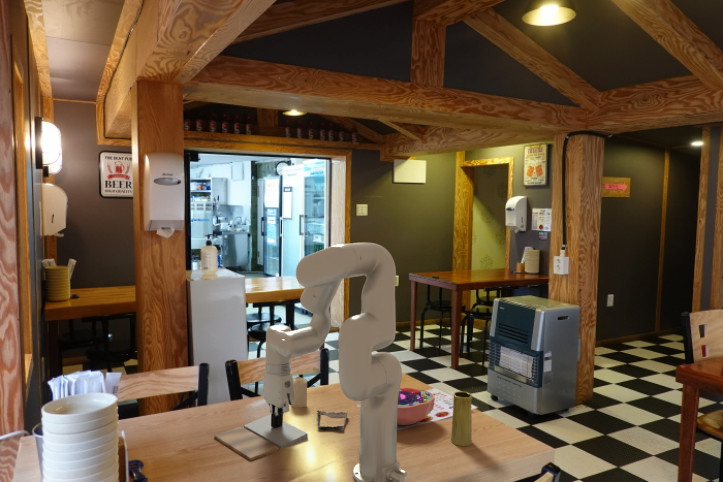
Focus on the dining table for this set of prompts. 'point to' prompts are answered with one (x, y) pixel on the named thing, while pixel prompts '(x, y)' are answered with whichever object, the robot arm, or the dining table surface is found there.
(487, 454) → the dining table surface
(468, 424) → the vase
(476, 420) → the dining table surface
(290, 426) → the grey flat slab
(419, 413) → the cell model
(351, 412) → the dining table surface
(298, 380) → the beige bottle
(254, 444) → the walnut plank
